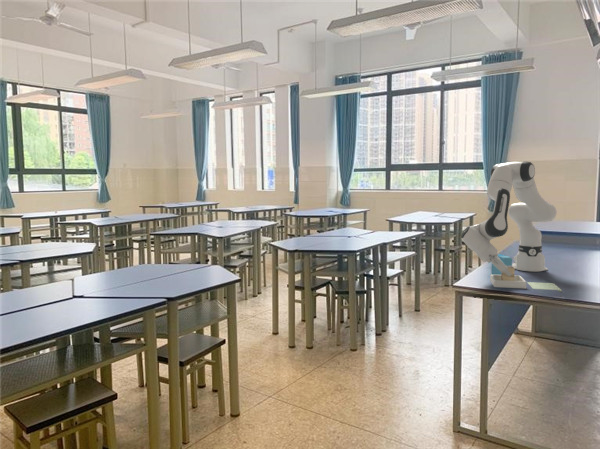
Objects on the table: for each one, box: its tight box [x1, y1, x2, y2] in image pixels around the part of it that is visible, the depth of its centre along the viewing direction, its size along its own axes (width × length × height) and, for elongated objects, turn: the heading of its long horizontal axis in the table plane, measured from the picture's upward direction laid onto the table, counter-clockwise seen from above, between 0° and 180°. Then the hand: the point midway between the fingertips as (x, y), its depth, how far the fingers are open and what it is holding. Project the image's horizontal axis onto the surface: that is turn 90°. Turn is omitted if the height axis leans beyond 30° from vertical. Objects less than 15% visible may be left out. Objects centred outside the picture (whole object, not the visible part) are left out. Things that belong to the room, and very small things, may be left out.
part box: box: [501, 266, 516, 281], centre depth 214 cm, size 5×5×9 cm
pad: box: [526, 281, 563, 293], centre depth 210 cm, size 14×12×1 cm
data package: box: [491, 253, 513, 275], centre depth 232 cm, size 12×4×12 cm, turn 5°
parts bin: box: [489, 273, 527, 289], centre depth 214 cm, size 14×14×4 cm
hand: (509, 273), depth 214 cm, fingers closed on part box, 5 cm apart
